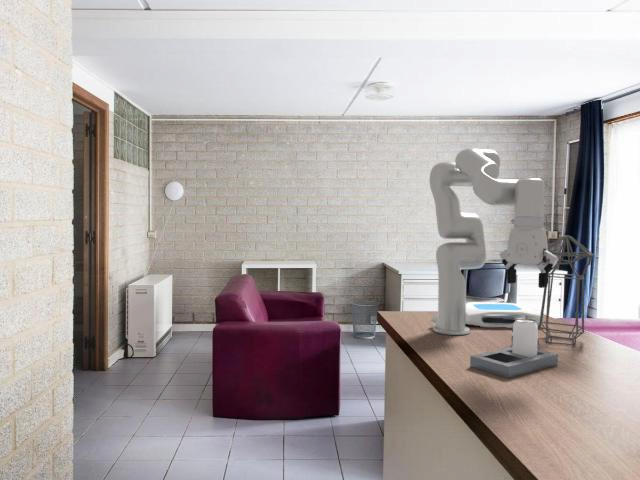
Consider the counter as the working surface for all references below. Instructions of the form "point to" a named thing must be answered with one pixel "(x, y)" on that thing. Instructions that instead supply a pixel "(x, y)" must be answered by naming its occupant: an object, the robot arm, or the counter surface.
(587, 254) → the geometric lantern
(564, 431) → the counter surface
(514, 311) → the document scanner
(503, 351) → the grey windowed frame
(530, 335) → the can
